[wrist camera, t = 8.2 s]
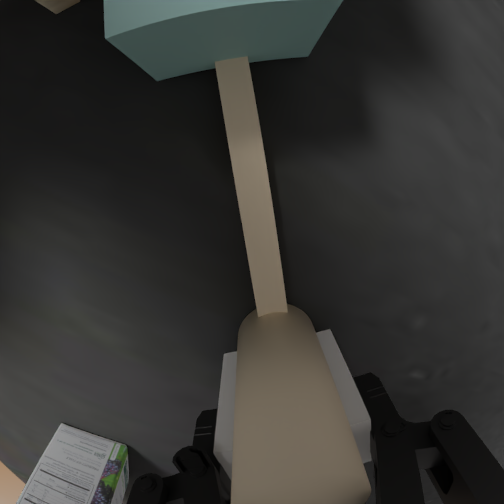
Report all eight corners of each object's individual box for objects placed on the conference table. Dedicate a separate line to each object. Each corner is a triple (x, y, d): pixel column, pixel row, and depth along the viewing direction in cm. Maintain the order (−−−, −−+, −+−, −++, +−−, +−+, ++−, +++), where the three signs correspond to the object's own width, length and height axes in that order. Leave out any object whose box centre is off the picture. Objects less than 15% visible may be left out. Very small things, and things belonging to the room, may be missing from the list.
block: (218, 375, 17) (200, 536, 7) (146, -28, 11) (71, -146, 1) (342, 356, 17) (405, 504, 7) (279, -50, 11) (305, -185, 1)
